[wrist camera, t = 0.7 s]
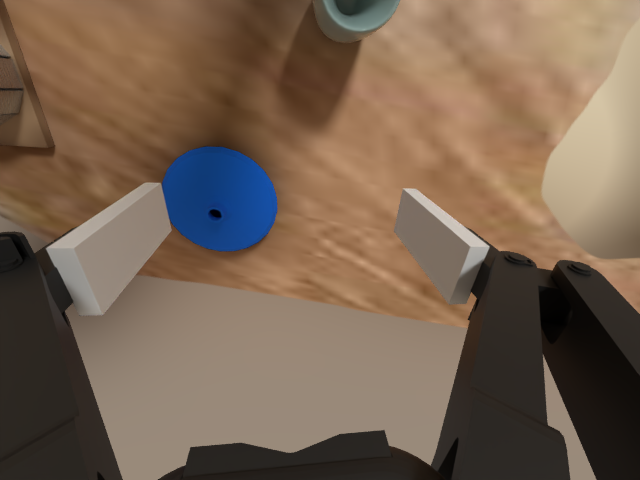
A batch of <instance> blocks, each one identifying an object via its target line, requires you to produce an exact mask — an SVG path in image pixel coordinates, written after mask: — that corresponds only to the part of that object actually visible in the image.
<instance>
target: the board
mask: <svg viewBox="0 0 640 480" xmlns="http://www.w3.org/2000/svg"><path fill="white" fill-rule="evenodd" d="M0 44H1V45H2V47H3V48H4V49H5V50H6V51H7V52H8V53H9V55H10V56H11V57H10V58H8V59H13V61H14V64H15V66H16V69H17V72H18V74H19V77H20V80H21V83H22V85H23V88H20V89H22V90H23V91H24V93H23V97H22V102H21V106H20V111H19V113H17V114H18V115H16V116H15V117H13V118H11V119H10V120H8V121H6V122H5V123H3V124H1V125H0V145H10V146H26V147H42V148H49V147H54V146H55V145H54V142H53V139H52V137H51V134H50V131H49V128H48V125H47V122H46V120H45V117H44V114H43V111H42V108H41V106H40V103H39V100H38V97H37V94H36V91H35V89H34V86H33V83H32V80H31V77H30V74H29V72H28V69H27V66H26V63H25V60H24V58H23V55H22V52H21V49H20V46H19V43H18V41H17V38H16V35H15V32H14V29H13V27H12V24H11V21H10V18H9V15H8V12H7V10H6V7H5V4H4V1H3V0H0Z"/></svg>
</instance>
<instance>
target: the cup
mask: <svg viewBox="0 0 640 480" xmlns="http://www.w3.org/2000/svg"><path fill="white" fill-rule="evenodd" d="M399 2H400V0H313V10H314V15H315V18H316V22H317V24H318V26H319V28H320V30H321V31H322V33H323V34H324V35H325V36H326V37H328V38H329V39H331V40H333V41H335V42H339V43H352V42H356V41H359V40H362V39H364V38H366V37H368V36H369V35H371V34H372V33H374V32H376V31H377V30H378V29H380V28H381V27H383V26H384V25H385V24H386V23H387V22H388V21H389V20H390V18H391V17H392V15H393V14H394V12H395V11H396V9H397V6H398V4H399Z"/></svg>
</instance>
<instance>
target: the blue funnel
mask: <svg viewBox="0 0 640 480" xmlns="http://www.w3.org/2000/svg"><path fill="white" fill-rule="evenodd" d="M162 190H163V194H164V199H165V203H166V208H167V212H168V216H169V219H170V221H171V223H172V224H173V225H174V226H175V227H176V229H177V230H178V231H179V232H180V233H181V234H182V235H183V236H185V237H186V238H188V239H189V240H190V241H192V242H193V243H195V244H198V245H200V246H202V247H205V248H207V249H212V250H217V251H237V250H241V249H245V248H248V247H250V246H252V245H254V244H256V243H258V242H259V241H260V240H261V239H262V238H263V237H265V236H266V235H267V234H268V232H269V230H270V229H271V227H272V225H273V224H274V221H275V217H276V213H277V197H276V193H275V190H274V187H273V184H272V182H271V181H270V179H269V178H268V176H267V174H266V173H265V171H264V170H263V169H262V168H261V167H260V166H259V165H258V164H256V163H255V162H254V161H253V160H252V159H250V158H249V157H247V156H245V155H243V154H242V153H240V152H238V151H234V150H231V149H227V148H224V147H202V148H198V149H194V150H190V151H188V152H186V153H185V154H183V155H182V156H180V157H178V158H177V159H176V160H175V161H174V162H173V164H172V165H171V166H170V167H169V168H168V169H167V172H166V175H165V177H164V180H163V182H162ZM217 210H218V211H217ZM219 211H220V212H219Z"/></svg>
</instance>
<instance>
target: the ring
mask: <svg viewBox="0 0 640 480" xmlns="http://www.w3.org/2000/svg"><path fill="white" fill-rule="evenodd" d="M10 57H11V56H10V55H9V53H8V52H7V51H6V50H5V49H4V48H3V47H2V45H1V44H0V125H1V124H3V123H5V122H6V121H8V120H10V119H11V118H13V117H15V116H16V115H18V114H17V113H19V111H20V106H21V102H22V97H23V93H24V91H23V90H22V89H20V88H23V85H22V83H21V80H20V77H19V74H18V72H17V69H16V66H15V64H14V61H13V59H8V58H10Z"/></svg>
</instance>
